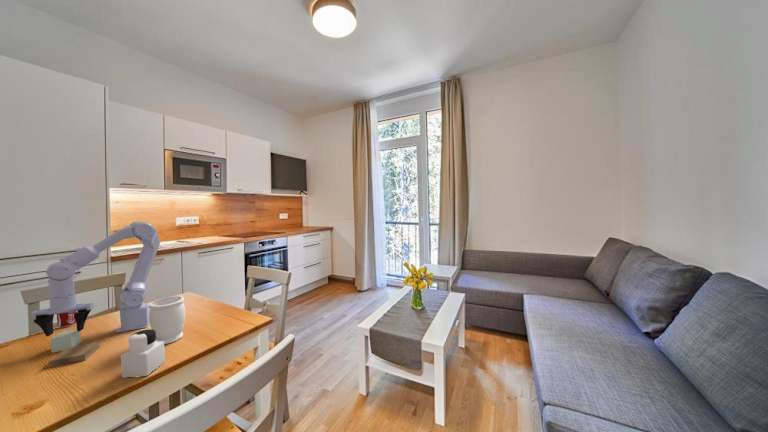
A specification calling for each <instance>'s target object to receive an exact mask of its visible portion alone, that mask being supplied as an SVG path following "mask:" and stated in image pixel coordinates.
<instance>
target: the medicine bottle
mask: <svg viewBox="0 0 768 432" xmlns="http://www.w3.org/2000/svg"><path fill="white" fill-rule="evenodd" d="M128 347H129V350H127V351H125V352H124V353H122V354H121V355H120V364H121V377H122V379H127V377H133V378H137V377H136V376H147V375H149V374H150V373H151V372H152V371H153V372H155V371H156V370H157V369H158V368H160V367H161V366H162V365H163V364H164V363H166V354H165V353H166V350H165V344H164V342H163V341H161V342H156V331H155V330H152V329H151V328H149V329H144V330H139V331H136V332H134V333H133V334H131V335H130V336H129V337H128ZM159 366H160V367H159ZM155 369H156V370H155ZM154 370H155V371H154ZM153 372H152V373H153ZM152 373H151V374H152ZM151 374H150V375H151ZM150 375H149V376H150ZM147 377H148V376H147Z"/></svg>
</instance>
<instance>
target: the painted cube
mask: <svg viewBox="0 0 768 432" xmlns="http://www.w3.org/2000/svg"><path fill="white" fill-rule="evenodd" d="M80 343H82V336H81V331H77V329H72V330H66V331H60V332H59V333H57V334H56V335H54V336H53V337H50V348H51V349H50V351H51V353H55V352H62V351H63V350H65V349H66V348H70V347H75V346H79V344H80Z"/></svg>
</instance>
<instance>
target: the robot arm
mask: <svg viewBox="0 0 768 432" xmlns="http://www.w3.org/2000/svg"><path fill="white" fill-rule="evenodd" d="M127 239H128V240H129V239H130V240H131V239H138V240H139V241H140V242H141V244H142V248H141V251H140V253H139V256H138V258H137V261H136V262H135V263H136V264H135V265H134V268H133V271H132V273H131V276H130V278H129V281H128V282H127V283H126V284H125V286H124V288H123V289H122V290H121V291H120V292H119V293H118V295H117V299H118V301H119V302H120V303H121V305H120V306H119V315H120V316H119V319H120V328H119V327H118V329H117V330H116V331H115V333H122V332H128V331H133V330H139V329H145V328H148V326H149V325H150V321H149V316H150V310H151V309H150V308H149V304H150V303H151V302H150V303H149V302H148V303H145V297H146V296H145V291H146V281H147V279H148V276H149V274H150V271H151V268H152V265H153V263H154V260H155V258H156V255H157V252H158V250H159V247H160V244H161V241H160V237H159V234H158V232H157V229H156V228H155V226H154V225H153V224H151V223H149V222H145V221H144V222H143V221H134V222H132V223H130V224H128V225H125V226H123V227H122V228H120V229H118V230H116V231H115V232H113V233H111V234H110V235H108V236H106V237H105V238H103V239H102V240H101V241H99V242H97V243H95V244H94V245H92V246H83V247H77V248H76V249H75V251H74V252H73V253H71V254H69V255H67V256H66V257H64V258H63V257H62V258H61V257H60V258H59V259H58V260H59V261H56V262H53V263H51V264H50V265H48V267H47V268H46V270H45V273H46V275H47V276H48V287H47V288H48V298H49V307H48V308H44V309H36V310H33V311H32V312H30V318H31V319H33V323H34V324H36V325H37V326H38V327H40V329H41V330H42V332H43V334H44V335H45V336H46V337H50V336H51V335H53V334H54V316H55V315H57V314H60V313H68V312H75V311H76V312H77V313H75V314H74V317H75V319H76V330H77V331H80V332H81V331H82V330H84V329H85V328H84V327H85V324H86V320H87V318H88V317H89V315H90V313H91V311H92V310H93V309H94V308H95V307H94V306H95V305H94V302H91V303H76V300H77V299H76V290H75V289H76V287H75V281H74V275H75V274H76V271H77V270H81V269H82V268H84V267H86V266H87V265H89V264H90V263H92V262H93V261H95V260H97V259H99V258H100V255H101V253H102V252H103V251H105V250H108V248H111V247H113V246H115V245H117V244H118V243H119V242H120V243H121V241H123V240H127ZM34 318H35V319H34Z"/></svg>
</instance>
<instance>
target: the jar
mask: <svg viewBox="0 0 768 432" xmlns="http://www.w3.org/2000/svg"><path fill="white" fill-rule="evenodd" d="M185 300H186V299H185V296H182V295H173V296H166V297H162V298H159V299H155V300H153V301H151V302H150V304H149V303H148V304H149V308H150V309H151V310H150V316H149V321H150V324H149V325H150V329H152V330H155V331H156V342H161V341H163V342H164V345H169V344H171V343H175V342H177V341H178V340H181V339H182V337H183V336H184V333H183V330H184V328H185V327H184V326H185V321H186V307H185V304H184V301H185Z"/></svg>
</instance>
